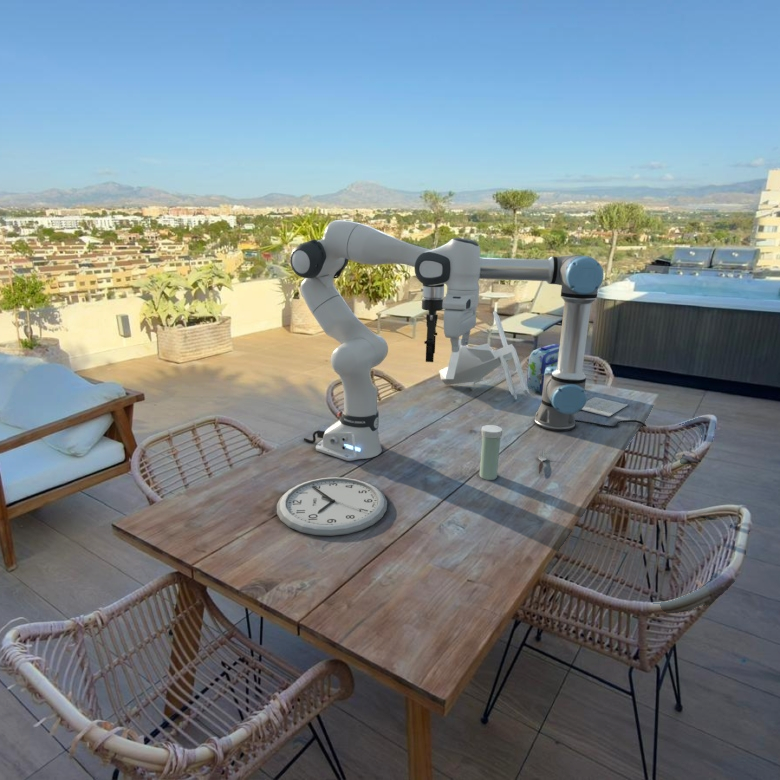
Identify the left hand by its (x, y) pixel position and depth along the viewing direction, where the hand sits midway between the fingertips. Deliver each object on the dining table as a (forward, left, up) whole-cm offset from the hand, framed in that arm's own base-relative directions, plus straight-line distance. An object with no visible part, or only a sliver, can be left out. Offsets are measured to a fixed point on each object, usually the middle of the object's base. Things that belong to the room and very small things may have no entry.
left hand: (460, 348), depth 148 cm
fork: (+24, +20, -40) cm, 51 cm away
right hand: (-20, +34, -12) cm, 41 cm away
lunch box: (+14, +108, -40) cm, 116 cm away
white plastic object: (-14, +88, -40) cm, 98 cm away
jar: (+10, +5, -40) cm, 42 cm away
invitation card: (+39, +92, -40) cm, 107 cm away
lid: (+10, +5, -25) cm, 27 cm away
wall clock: (-25, -31, -40) cm, 56 cm away
